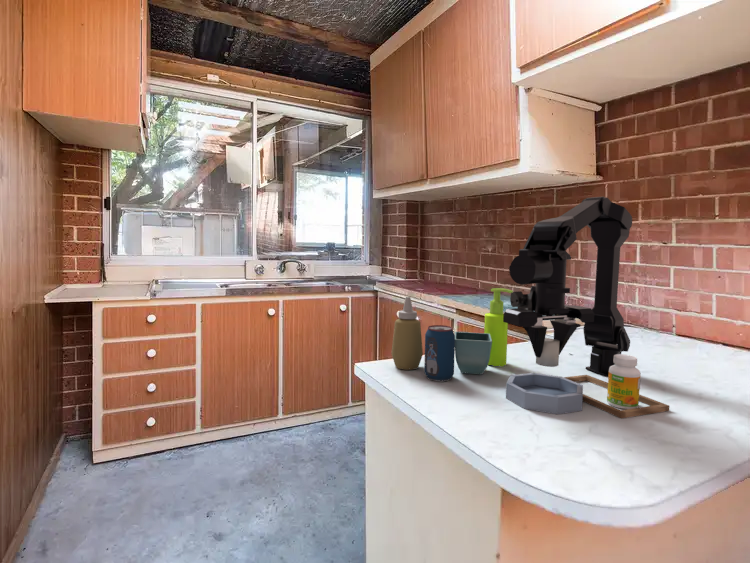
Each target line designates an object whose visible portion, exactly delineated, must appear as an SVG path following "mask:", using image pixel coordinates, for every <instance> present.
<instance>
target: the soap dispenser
mask: <svg viewBox="0 0 750 563" xmlns="http://www.w3.org/2000/svg"><path fill="white" fill-rule="evenodd" d="M490 292H493V299H491V300H490V301H489V312H487V313H485V314H484V330H483V333H487V334H490V336H491V339H492V345H491V352H490V359H489V363H488V365H487V366H489V365H493V366H492V367H495V366H501V367H505V366H507V359H508V358H507V357H508V356H507V354H508V330H509V328H508V326H509V323H505V322H503V314H504V301H503V300H502V299H501V293H503V292H504V293H509V294H511V293H512V292H514V290H512V289H508V288H503V287H502V288H498V287H497V288H491V289H490ZM504 365H505V366H504Z"/></svg>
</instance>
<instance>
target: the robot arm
mask: <svg viewBox="0 0 750 563" xmlns="http://www.w3.org/2000/svg"><path fill="white" fill-rule="evenodd" d="M632 225H633V217H632V214H631V213H630V212H629V210H628V209H627V208H626V207H625V206H622V205H620V204H617V203H616V202H612V201H611V200H610V199H609V197H605V196H595V197H594V196H593V197H586V198H585V199H584V198H583V200H582V201H581V202H580V203H578V204H577V205H575V206H574V207H573V208H571V209H569V210H567V212H565V213H563V214H562V215H560V216H557V217H552V218H546V219H543V220H540V221H537V222H536V223H535V224H534V226H532V227H533V228H532V230H531V232H530V234H529V236H528V238H527V240H526V242H525V244H524V246H523V248H521V249H519V250H518V255H517V256H515V257H514V259H512V260H511V263H510V265H509V266H508V269H509V276H510V278H511V279H512V281H513V282H515V283H516V284H519V285H522V286H523V285H531V286H530V289H529V293H524V294H523V291H520V290H519V291H513V292H512V293H510V306H511V308H506V309H505V311H503V322H505V323H508V325H509V324H510V325H513V326H517V327H522V328H523V329H524V330H525V332H526V334H527V336H528V338H529V340H530V343H531V344H530V345H531V348H532V350H533V353H534V356H535V358H536V357H538V358H540V357H541V354H542V350H543V346H544V341H545V338H546V335H547V331H548V327H547V326H546V325H545V326H544V325H543V321H549V322H550V324H551V325H552V326H551V327H552V328H553V339H556V340H559V341H560V343H559V356H560V354H561V353H562V352H563V350H564V348H565V346H566V345H567V343H568V342H569V340H570V338H571V337H572V336H573V334H574V333H575V331H576V330H577V328H581V325H582V324H581V323H584V325H583V336H584V344H585V346H590V347H591V353H590V357H589V358H590V362H589V366H585V369H586V370H588V371H590V372H593V373H597V374H599V375H602V376H605V377H608V375H609V368H610V366H612V365H615V363H614V361H613V359H614V355H616V354H622V352H625V353H626V352H629V350H630V347H631V340H630V337H629V334H628V333H627V330H626V328H625V325H624V324H625V323H624V317H623V316H622V314H621V313H620V310H619V308H618V307H617V305H618V293H619V292H618V291H619V275H620V274H619V273H620V259H621V258H620V257H621V248H622V246H623V245H624V243H625V242H626V241H627V239H628V238H629V235H630V231H631V228H632ZM585 227H588V228H589V230H590V237H591V239H592V240H593V242H594V244H595V245H596V247H597V249H596V253H597V254H596V265H595V266H596V268H595V269H596V270H595V287H594V289H595V290H594V301H593V303H594V304H593V307H592V308H591V307H585V306H580V305H565V304H566V303H565V302H566V294H570V293H571V288H570V287H566V284H567V282H566V281H567V263H568V262H567V261H568V260H569V261H570V260H571V259H572V256H571V255H570V253H568V252H567V249H569V248H570V247H571V246H572V245H573V244H574V243H575V242H576V241H577V239H578V237H577V233H578V232H580V231H581V230H582V229H584V228H585ZM533 284H535V285H533ZM576 319H578V320H579V321H580V322H581V323H576V322H577V321H576Z"/></svg>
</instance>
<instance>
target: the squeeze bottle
mask: <svg viewBox="0 0 750 563" xmlns="http://www.w3.org/2000/svg"><path fill="white" fill-rule="evenodd" d="M417 318H418V312H417V311H416V310H413V304H412V299H411V296H405V299H404V304H403V308H402V310H399V311H398V319H396V320H395V321H394V326H393V336H392V345H391V346H392V347H391V357H392V360H393V362H394V366H395V368H397V369H399V370H407V371H409V370H410V371H411V370H416V369H418V368H419V366H420V363H421V360H422V358H423V354H424V352H423V338H422V328H421V327H422V326H421V321H420V320H419V319H417Z"/></svg>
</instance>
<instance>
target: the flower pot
mask: <svg viewBox="0 0 750 563" xmlns="http://www.w3.org/2000/svg"><path fill="white" fill-rule="evenodd" d="M454 334H455V355H454V358H455V361H456V365H457V367H458V370H459V372H460V373H461V374H472V375H483V373H485V371H486V369H487V368H488V366H489V365H488V363H489V359H490V352H491V345H492V339H491V336H490V334H487V333H484V332H483V333H481V332H468V331H467V332H466V331H454Z"/></svg>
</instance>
